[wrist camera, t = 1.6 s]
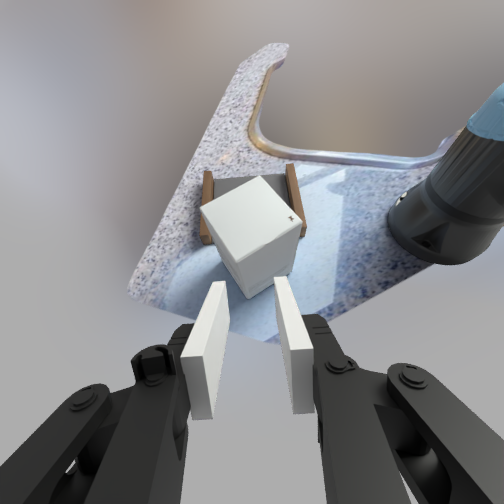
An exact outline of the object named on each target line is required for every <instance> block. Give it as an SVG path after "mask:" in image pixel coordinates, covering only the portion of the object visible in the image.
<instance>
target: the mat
mask: <svg viewBox="0 0 504 504" xmlns="http://www.w3.org/2000/svg"><path fill="white" fill-rule="evenodd" d="M260 176H261V177H262V178H263V179H264V180H265V181H266V182H267V183H268V184H269V186H270V187H271V188H272V189H273V190H274V191H275V192H276V193H277V195H278V196H279V197H280V198H281V199H282V200H283V201H284V202H285V203H286V204H287V205H288V206H289V207H290V203H289V198H288V192H287V186H286V181H285V175H284V173H283V174H271V175H260ZM256 177H257V176H249V177H237V178H226V179H215V183H214V200H215V199H216V198H218V197H220V196H222V195H224V194H226V193H228V192H230V191H231V190H233V189H235V188H237V187H239V186H241V185H243V184H244V183H246V182H248V181H250V180H252V179H254V178H256ZM212 242H213V244H215V243H214V241H213V240H212Z"/></svg>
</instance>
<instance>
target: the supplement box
mask: <svg viewBox="0 0 504 504" xmlns="http://www.w3.org/2000/svg"><path fill="white" fill-rule="evenodd" d="M200 211H201V213H202V216H203V218H204V220H205V223H206V225H207V227H208V229H209V232H210V234H211V236H212V238H213V241H214V243H215V245H216V248H217V250H218V252H219V254H220V257H221V259H222V261H223V263H224V265H225V266H226V268H227V269H228V271H229V272H230V274H231V275H232V277H233V278H234V280H235V281H236V283H237V284H238V286H239V287H240V289H241V290H242V292H243V293H244V295H245V296H246V298H247V299H250V298H252V297H253V296H255V295H257V294H258V293H260V292H261V291H263V290H264V289H266V288H267V287H269V286H270V285H272V284H274V277H283V276H286V275H287V274H289V273H290V272H292V269H293V264H294V260H295V255H296V250H297V246H298V241H299V237H300V232H301V228H302V223H303V221H302V220H301V219H300V218H299V217H298V216H297V215H296V214H295V213H294V212H293V211H292V210H291V208H290V207H289V206H288V205H287V204H286V203H285V202H284V201H283V200H282V199H281V198H280V197H279V196H278V195H277V193H276V192H275V191H274V190H273V189H272V188H271V187H270V186H269V184H268V183H267V182H266V181H265V180H264V179H263V178H262V177H261V176H260V175H259V176H257V177H256V178H254V179H252V180H250V181H248V182H246V183H244V184H243V185H241V186H239V187H237V188H235V189H233V190H231V191H230V192H228V193H226V194H224V195H222V196H220V197H218V198H216V199H215V200H213V201H211V202H209V203H207V204H205V205H203V206H201V207H200Z"/></svg>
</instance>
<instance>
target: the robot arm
mask: <svg viewBox="0 0 504 504" xmlns="http://www.w3.org/2000/svg"><path fill="white" fill-rule="evenodd" d="M388 225H389V228H390V231H391V233H392V235H393V236H394V238H395V239H396V241H397V242H398V243H399V244H400V245H401V246H402V247H403V248H404V249H406V250H407V251H408V252H410V253H411V254H413V255H415V256H416V257H418V258H420V259H423V260H425V261H428V262H431V263H435V264H441V265H458V264H463V263H466V262H468V261H470V260H472V259H474V258H475V257H477V256H478V255H480V254H482V253H483V252H484V251H485V250H486V249H487V248H488V247H489V246H490V244H491V242H492V240H493V239H494V237H495V236H496V235H497V233H498V232H499V231H500V229H501V228H502V226H503V225H504V83H503V84H502V85H501V86H499V87H498V88H497V89H496V90H495V91H494V92H493V93H492V95H491V96H490V97H489V98H488V99H487V101H486V102H485V103H484V104H483V105H482V107H481V108H480V109H479V110H478V111H477V112H476V113H475V114H473V115H472V116H471V117H470V119H469V120H468V122H467V125H466V127H465V128H464V130H463V131H462V132H461V134H460V135H459V136H458V138H457V139H456V140H455V142H454V143H453V144H452V146H451V147H450V148H449V149H448V151H447V152H446V153H445V155H444V156H443V157H442V159H441V160H440V161H439V162H438V164H437V165H436V166H435V167H434V169H433V170H432V172H431V173H430V174H429V175H428V177H427V178H426V179H424V180H423V181H421V182H420V183H418V184H417V185H415V186H414V187H413V188H411V189H410V190H408V191H407V192H405V193H404V194H402V195H401V196H400V197H399V198H398V199H397V200H396V202H395V203H394V205H393V206H392V208H391V209H390V211H389V214H388ZM274 290H275V306H276V319H277V325H278V330H279V336H280V341H281V347H282V353H283V358H284V364H285V369H286V375H287V381H288V386H289V392H290V397H291V403H292V409H293V414H305V413H314V412H315V411H314V403H315V406H316V410H317V414H318V443H320V448H321V457H322V466H323V473H324V483H325V491H326V500H327V504H411V502H410V499H409V496H408V494H407V491H406V489H405V486H404V483H403V481H402V478H401V475H402V476H403V478H404V480H405V481H406V483H407V485H408V486H409V488H410V490H411V492H412V493H413V495H414V496H415V498H416V500H417V502H418V503H419V504H504V440H503V439H502V438H501V437H500V436H499V435H498V434H496V433H495V432H494V431H493V430H492V429H491V428H490V427H489V426H488V425H486V423H484V422H483V421H482V420H481V419H480V418H479V417H478V416H477V415H476V414H475V413H474V412H472V411H471V410H470V409H469V408H468V407H467V406H466V405H465V404H464V403H463V402H461V401H460V400H459V399H458V398H457V397H456V396H455V395H454V394H453V393H452V392H451V391H450V390H448V389H447V388H446V387H445V386H444V385H443V384H442V383H441V382H440V381H439V380H437V379H436V378H435V377H434V376H433V375H432V374H430V373H429V372H427V371H426V370H424V369H422V368H420V367H418V366H415V365H411V364H407V363H397V364H394V365H391V366H390V367H389V369H388V372H387V374H383V373H378V372H372V371H368V370H364V369H361V368H359V366H358V365H357V363H356V362H355V361H354V360H353V359H351V358H350V357H348V356H346V355H344V353H343V351H342V349H341V347H340V345H339V344H338V342H337V340H336V338H335V337H334V335H333V334H332V331H331V329H330V328H329V325H328V324H327V322H326V320H325V319H324V318H323V317H321V316H320V315H318V314H309V315H301V314H300V311H299V309H298V306H297V303H296V301H295V298H294V295H293V293H292V290H291V287H290V285H289V282H288V279H287V277H286V276H283V277H274ZM229 325H230V315H229V307H228V298H227V290H226V282H225V281H216V282H213V283H212V285H211V287H210V290H209V292H208V294H207V297H206V299H205V301H204V304H203V306H202V308H201V311H200V313H199V315H198V317H197V320H196V322H195V323H193V324H182V325H181V326H180V327H179V328H178V329H176V330H175V331H174V333H173V335H172V337H171V340H170V341H169V342H168V344H167V345H154V346H150V347H148V348H145V349H143V350H141V351H140V352H139V353H138V354H136V355H135V356H134V357H133V358H132V360H131V364H132V368H133V372H134V375H135V380H136V383H135V385H134V386H132V387H129V388H126V389H123V390H120V391H116V392H113V393H110V391H109V388H108V387H107V386H106V385H104V384H93V385H90V386H87V387H84V388H82V389H80V390H79V391H77V392H75V393H74V394H72V395H71V396H70V397H69V398H68V399H66V400H65V401H64V402H63V403H62V404H61V405H60V406H59V407H58V409H56V410H55V411H54V413H52V414H51V415H50V417H49V418H48V419H47V420H46V421H45V422H44V423H43V424H42V425H41V426H40V427H39V428H38V429H37V430H36V431H35V432H34V433H33V434H32V435H31V436H30V437H29V438H28V439H27V440H26V441H25V442H24V443H23V444H22V445H21V446H20V447H19V448H18V449H17V450H16V451H15V452H14V453H13V454H12V455H11V456H10V457H9V458H8V459H7V460H6V461H5V462H4V463H3V464H2V465H1V466H0V504H180V500H181V491H182V483H183V475H184V467H185V458H186V449H187V441H188V425H187V418H188V415H189V411H190V410H191V415H192V420H204V419H213V416H214V410H215V404H216V399H217V393H218V387H219V382H220V376H221V370H222V365H223V359H224V353H225V347H226V342H227V336H228V330H229ZM74 459H75V462H76V463H75V464H74V465H73V467H72V468H71V469H70V470H69V471H68V472H67V473H65V472H66V470H67V469H68V467H69V466H70V465H71V464H72V462H73V461H74ZM399 471H400V473H401V475H400V473H399Z"/></svg>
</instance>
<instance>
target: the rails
mask: <svg viewBox="0 0 504 504" xmlns="http://www.w3.org/2000/svg"><path fill="white" fill-rule="evenodd" d="M285 177H286V183H287V188H288V194H289V199H290V205H291V210H292V211H293V212H294V213H295V214H296V215H297V216H298V217H299V218H300V219H301V220H302V221H303V223H302V228H301V232H300V237H305V233H306V228H307V225H306V220H305V216H304V211H303V206H302V201H301V197H300V192H299V187H298V183H297V178H296V173H295V168H294V164H293V163H292V164H286V172H285ZM213 196H214V180H213V176H212V172H211V171H204V177H203V192H202V206H203V205H205V204H207V203H209V202H211V201H213ZM199 236H200V238H201V240H202V242H203V244H204V245H205V244H212V236H211V234H210V232H209V229H208V227H207V225H206V223H205V220H204V218H203V216H202V213H201V220H200V235H199Z"/></svg>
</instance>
